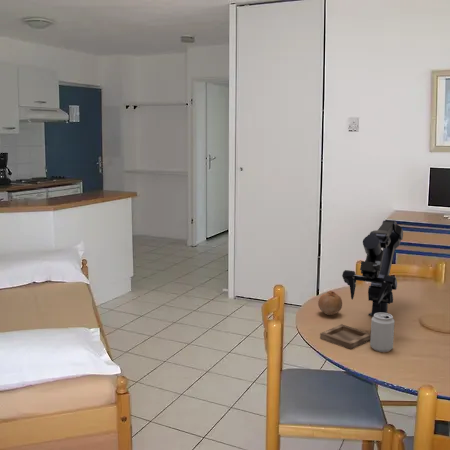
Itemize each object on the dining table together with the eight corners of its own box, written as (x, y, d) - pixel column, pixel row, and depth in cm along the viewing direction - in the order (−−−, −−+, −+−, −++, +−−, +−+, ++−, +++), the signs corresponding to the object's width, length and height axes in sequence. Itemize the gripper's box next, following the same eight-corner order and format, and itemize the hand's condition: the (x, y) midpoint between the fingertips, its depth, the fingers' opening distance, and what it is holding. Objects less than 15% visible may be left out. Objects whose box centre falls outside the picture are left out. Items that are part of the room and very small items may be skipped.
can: (393, 353, 181) (396, 319, 179) (370, 351, 183) (372, 318, 181) (391, 345, 189) (393, 312, 186) (369, 343, 190) (371, 310, 188)
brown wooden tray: (341, 329, 203) (341, 324, 202) (372, 339, 193) (372, 334, 193) (320, 338, 194) (320, 333, 194) (350, 349, 185) (351, 343, 184)
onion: (346, 317, 215) (347, 293, 214) (325, 320, 212) (326, 295, 210) (333, 309, 224) (334, 286, 222) (313, 312, 221) (314, 288, 219)
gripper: (344, 248, 197) (334, 287, 190) (397, 254, 188) (389, 295, 182) (349, 263, 206) (340, 300, 199) (400, 269, 197) (392, 308, 190)
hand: (364, 301), depth 192 cm, fingers open, 9 cm apart
